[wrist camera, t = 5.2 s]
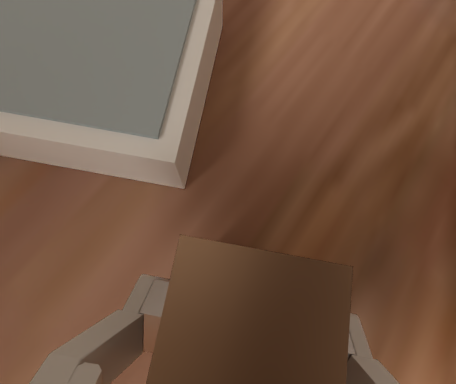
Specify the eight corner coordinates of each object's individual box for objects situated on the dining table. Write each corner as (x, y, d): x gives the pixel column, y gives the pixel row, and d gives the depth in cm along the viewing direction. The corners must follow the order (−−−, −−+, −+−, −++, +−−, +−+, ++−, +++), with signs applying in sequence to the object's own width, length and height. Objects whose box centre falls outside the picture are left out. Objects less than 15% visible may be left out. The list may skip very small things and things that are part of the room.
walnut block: (182, 349, 15) (133, 438, 7) (200, 259, 16) (180, 234, 8) (271, 367, 15) (340, 481, 6) (282, 274, 16) (353, 266, 8)
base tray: (-15, 152, 18) (-84, 114, 14) (55, -1, 21) (16, -68, 17) (184, 189, 18) (173, 160, 13) (222, 26, 21) (223, -35, 17)
